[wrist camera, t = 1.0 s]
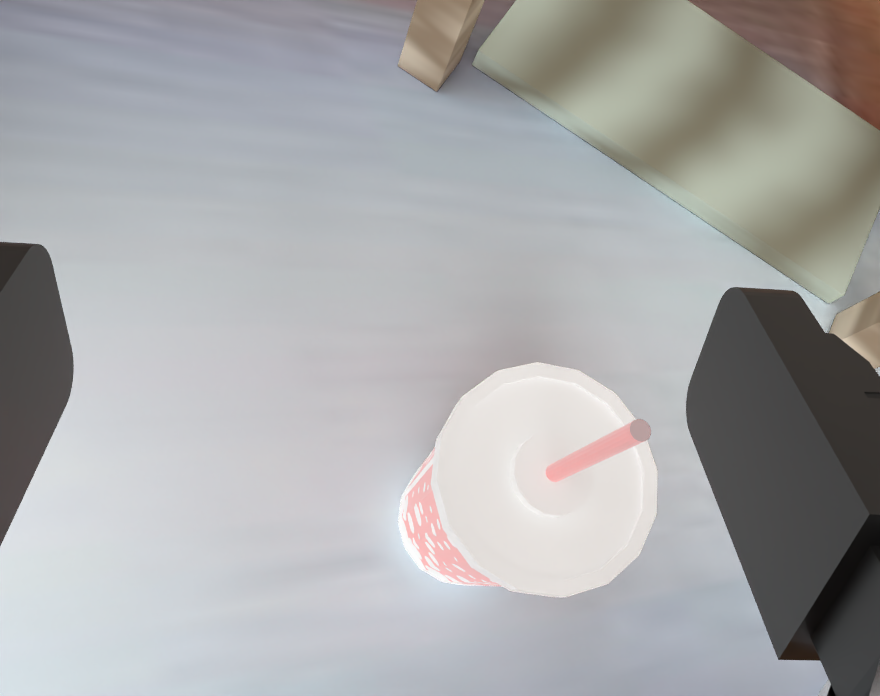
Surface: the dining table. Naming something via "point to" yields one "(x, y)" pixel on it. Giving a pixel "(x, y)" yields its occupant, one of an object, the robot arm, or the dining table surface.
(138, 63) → the dining table surface
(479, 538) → the beverage cup
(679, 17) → the stand
